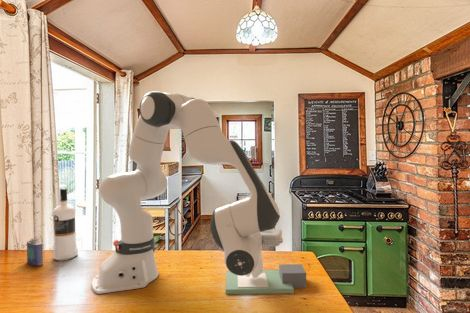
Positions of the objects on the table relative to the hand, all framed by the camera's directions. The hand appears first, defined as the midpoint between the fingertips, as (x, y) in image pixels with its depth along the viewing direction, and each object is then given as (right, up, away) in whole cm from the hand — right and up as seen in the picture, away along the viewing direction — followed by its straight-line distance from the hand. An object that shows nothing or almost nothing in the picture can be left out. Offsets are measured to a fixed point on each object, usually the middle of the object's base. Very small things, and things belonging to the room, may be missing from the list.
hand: (252, 228), depth 99 cm
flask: (-89, -20, +20) cm, 93 cm away
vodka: (-80, -19, +26) cm, 86 cm away
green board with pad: (+4, -19, +1) cm, 20 cm away
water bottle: (0, -16, 0) cm, 16 cm away
